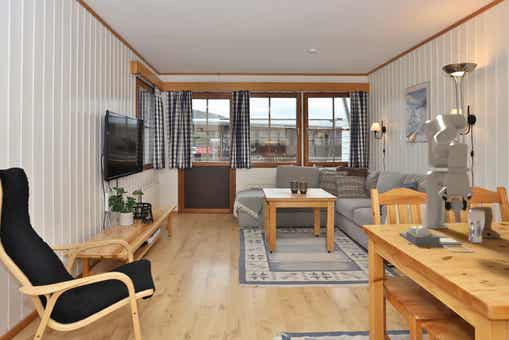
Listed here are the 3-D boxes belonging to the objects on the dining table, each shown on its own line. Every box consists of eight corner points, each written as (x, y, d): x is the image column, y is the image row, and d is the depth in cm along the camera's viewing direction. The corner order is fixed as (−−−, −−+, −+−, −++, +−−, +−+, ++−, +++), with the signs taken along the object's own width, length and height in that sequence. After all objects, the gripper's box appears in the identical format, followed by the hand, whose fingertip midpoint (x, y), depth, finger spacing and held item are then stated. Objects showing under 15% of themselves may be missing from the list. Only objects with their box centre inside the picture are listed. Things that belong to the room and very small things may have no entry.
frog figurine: (445, 212, 170) (446, 197, 170) (451, 210, 175) (451, 195, 175) (460, 214, 166) (461, 198, 165) (465, 212, 171) (466, 197, 170)
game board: (399, 234, 195) (399, 224, 195) (440, 234, 194) (441, 225, 194) (424, 251, 164) (425, 240, 164) (474, 252, 164) (474, 240, 163)
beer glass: (481, 240, 184) (482, 209, 183) (485, 244, 177) (487, 212, 176) (465, 239, 186) (466, 209, 184) (469, 242, 179) (470, 211, 178)
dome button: (413, 236, 183) (413, 224, 182) (426, 236, 183) (426, 224, 182) (418, 240, 177) (419, 227, 176) (431, 240, 177) (432, 227, 176)
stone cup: (468, 231, 202) (469, 203, 201) (494, 233, 198) (495, 205, 197) (473, 238, 188) (474, 208, 187) (501, 240, 184) (502, 209, 183)
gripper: (472, 170, 173) (470, 208, 174) (433, 170, 173) (432, 208, 174) (481, 171, 165) (479, 211, 167) (441, 171, 165) (440, 211, 167)
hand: (455, 209), depth 171 cm, fingers closed on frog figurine, 6 cm apart
